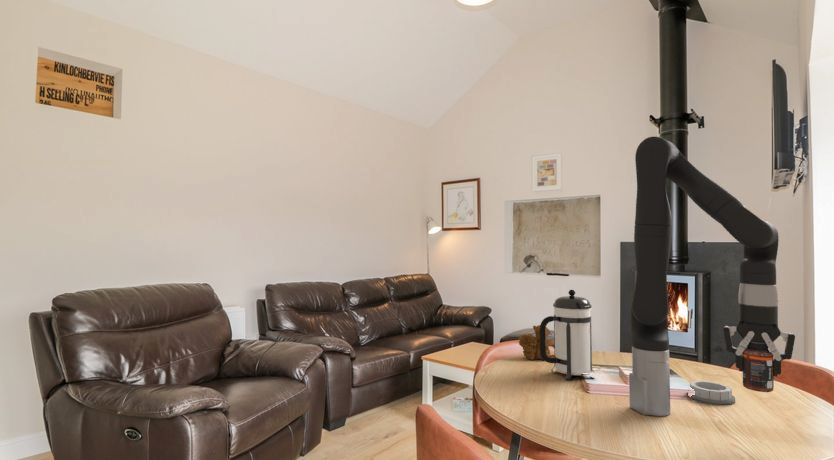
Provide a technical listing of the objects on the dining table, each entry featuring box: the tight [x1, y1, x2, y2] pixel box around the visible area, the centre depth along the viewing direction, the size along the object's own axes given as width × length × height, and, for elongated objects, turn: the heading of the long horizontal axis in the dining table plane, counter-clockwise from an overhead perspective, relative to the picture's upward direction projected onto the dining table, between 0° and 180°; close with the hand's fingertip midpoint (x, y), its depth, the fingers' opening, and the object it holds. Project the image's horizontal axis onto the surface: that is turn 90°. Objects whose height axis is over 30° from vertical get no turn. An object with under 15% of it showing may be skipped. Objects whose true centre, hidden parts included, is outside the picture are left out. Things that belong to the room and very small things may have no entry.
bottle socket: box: [689, 380, 736, 406], centre depth 135 cm, size 12×12×4 cm
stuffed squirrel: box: [517, 324, 555, 361], centre depth 182 cm, size 10×14×13 cm
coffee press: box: [539, 289, 594, 382], centre depth 158 cm, size 17×16×30 cm
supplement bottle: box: [742, 342, 775, 393], centre depth 108 cm, size 6×6×11 cm
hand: (757, 372), depth 108 cm, fingers closed on supplement bottle, 6 cm apart
